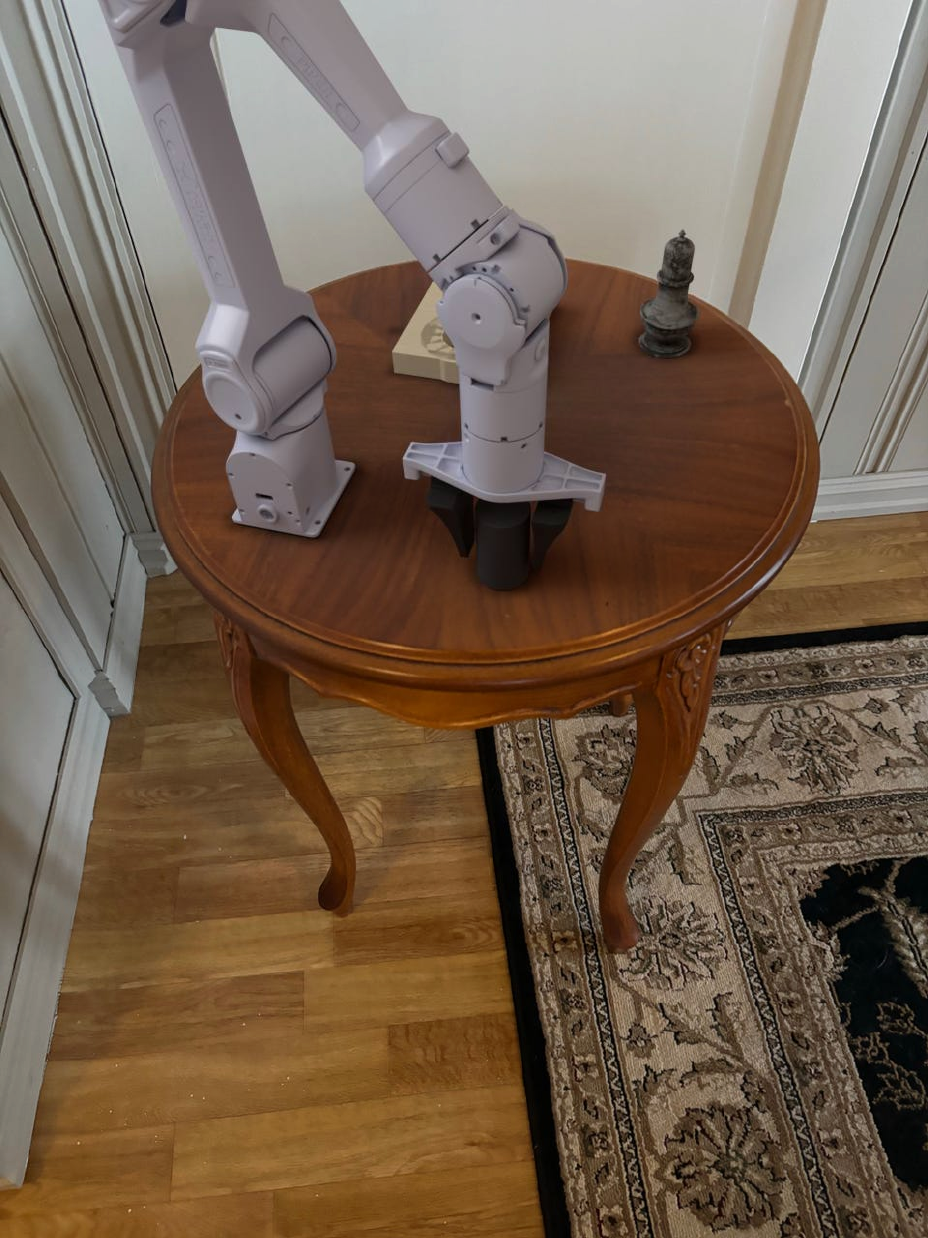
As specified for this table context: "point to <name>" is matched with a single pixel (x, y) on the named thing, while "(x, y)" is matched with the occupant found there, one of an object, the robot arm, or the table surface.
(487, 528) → the dark grey cylinder
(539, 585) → the table surface
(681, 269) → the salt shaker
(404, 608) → the table surface
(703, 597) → the table surface
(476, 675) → the table surface
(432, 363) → the back plate
